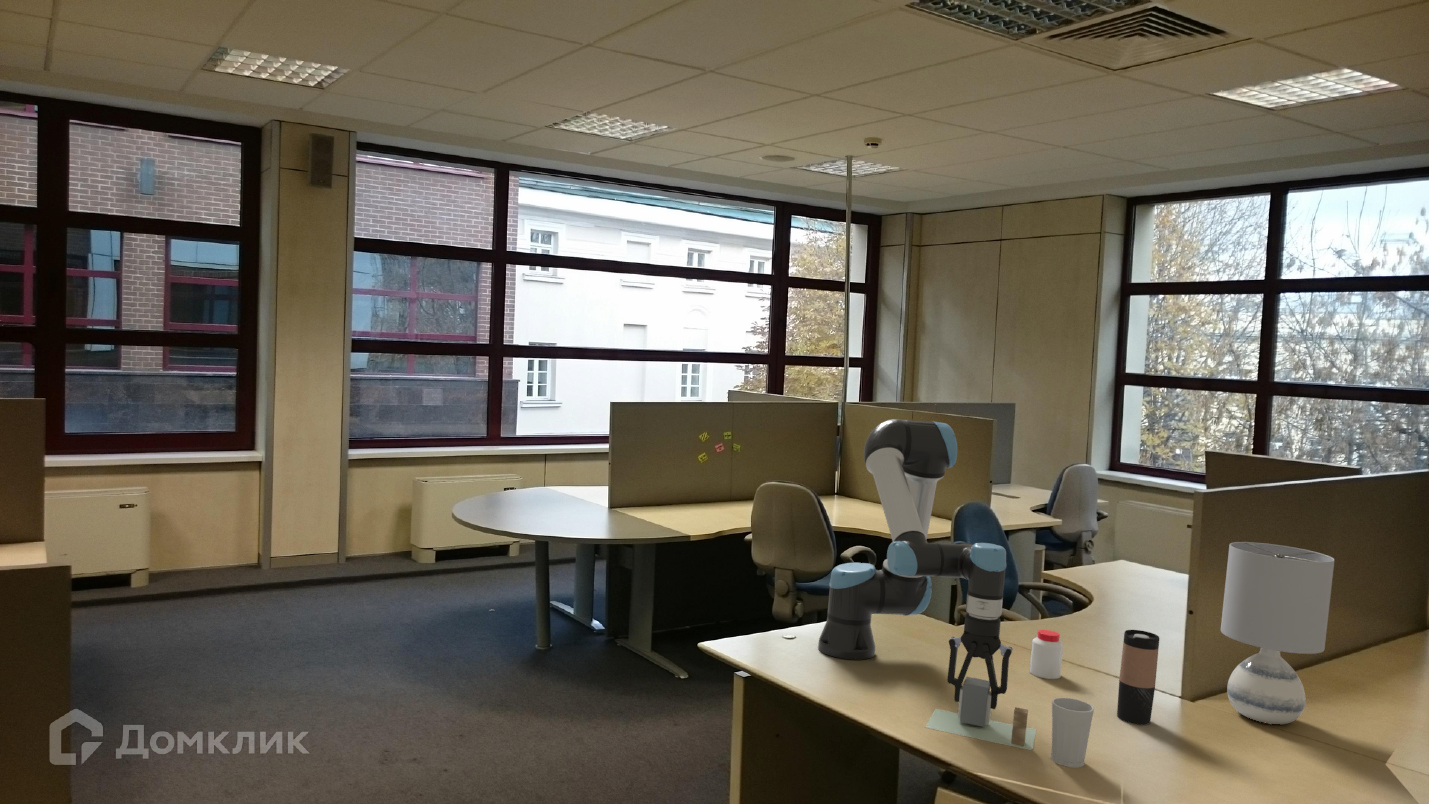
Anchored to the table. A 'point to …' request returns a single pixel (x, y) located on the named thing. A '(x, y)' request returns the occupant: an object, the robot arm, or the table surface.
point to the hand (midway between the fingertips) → (973, 719)
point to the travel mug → (1137, 676)
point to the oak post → (1019, 726)
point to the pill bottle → (1046, 655)
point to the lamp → (1274, 624)
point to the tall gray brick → (974, 701)
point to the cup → (1070, 731)
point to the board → (978, 729)
